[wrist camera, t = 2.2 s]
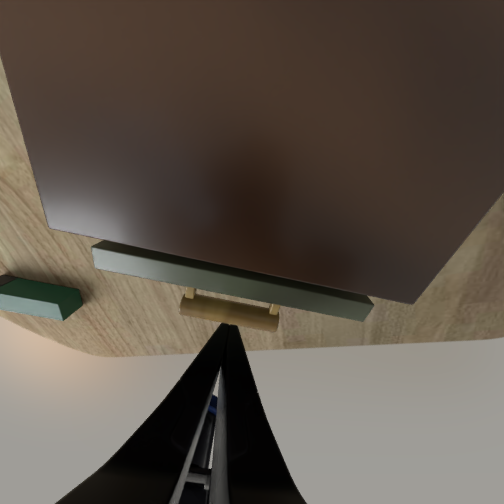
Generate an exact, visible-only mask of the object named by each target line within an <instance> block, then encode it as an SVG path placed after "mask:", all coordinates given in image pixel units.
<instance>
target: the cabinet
mask: <svg viewBox="0 0 504 504" xmlns="http://www.w3.org/2000/svg"><path fill="white" fill-rule="evenodd" d="M0 56H1V60H2V63H3V67H4V70H5V74H6V77H7V81H8V85H9V88H10V92H11V95H12V99H13V102H14V106H15V110H16V113H17V117H18V120H19V124H20V127H21V131H22V135H23V138H24V142H25V145H26V149H27V152H28V156H29V160H30V163H31V167H32V170H33V174H34V178H35V181H36V185H37V188H38V192H39V195H40V199H41V203H42V206H43V210H44V213H45V217H46V220H47V224H48V227H49V228H50V229H54V230H59V231H64V232H69V233H73V234H78V235H83V236H88V237H92V238H97V239H102V240H107V241H111V242H116V243H121V244H126V245H130V246H135V247H140V248H145V249H149V250H154V251H159V252H164V253H168V254H173V255H178V256H183V257H187V258H192V259H197V260H202V261H206V262H211V263H216V264H221V265H225V266H230V267H235V268H240V269H244V270H249V271H254V272H259V273H263V274H268V275H273V276H278V277H282V278H287V279H292V280H297V281H301V282H306V283H311V284H316V285H320V286H325V287H330V288H335V289H339V290H344V291H349V292H354V293H358V294H363V295H368V296H373V297H377V298H382V299H387V300H392V301H396V302H401V303H406V304H411V305H413V304H414V303H415V302H416V301H417V299H418V298H419V297H420V296H421V294H422V293H423V292H424V291H425V289H426V288H427V287H428V286H429V284H430V283H431V282H432V281H433V279H434V278H435V277H436V276H437V274H438V273H439V272H440V271H441V269H442V268H443V267H444V266H445V264H446V263H447V262H448V261H449V260H450V258H451V257H452V256H453V255H454V253H455V252H456V251H457V250H458V248H459V247H460V246H461V245H462V243H463V242H464V241H465V240H466V238H467V237H468V236H469V235H470V233H471V232H472V231H473V230H474V228H475V227H476V226H477V225H478V223H479V222H480V221H481V220H482V219H483V217H484V216H485V215H486V214H487V212H488V211H489V210H490V209H491V207H492V206H493V205H494V204H495V202H496V201H497V200H498V199H499V197H500V196H501V195H502V194H503V192H504V0H0Z"/></svg>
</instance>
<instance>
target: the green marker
mask: <svg viewBox="0 0 504 504" xmlns="http://www.w3.org/2000/svg"><path fill="white" fill-rule="evenodd" d="M82 305H83V304H82V300H81V296H80V292H79V289H74V288H68V287H63V286H58V285H53V284H47V283H42V282H37V281H32V280H26V279H21V278H18V277H12V276H7V275H1V276H0V310H5V311H11V312H16V313H22V314H27V315H33V316H39V317H44V318H50V319H56V320H61V321H64V320H65V319H66V318H68V317H69V316H70V315H71V314H73V313H74V312H75V311H76V310H78V309H79V308H80V307H81V306H82Z"/></svg>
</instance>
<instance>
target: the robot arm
mask: <svg viewBox="0 0 504 504" xmlns="http://www.w3.org/2000/svg"><path fill="white" fill-rule="evenodd" d="M220 367H221V369H220ZM219 371H220V379H219V390H218V401H217V413H216V414H214V413H212V412H210V411H208V407H209V404H210V400H211V397H212V394H213V391H214V387H215V384H216V381H217V377H218V375H219ZM214 431H215V437H214V450H213V461H212V468H211V469H208V467H209V461H210V455H211V449H212V443H213V436H214ZM204 485H205V489H204ZM55 504H307V503H306V502H305V500H304V499H303V497H302V496H301V494H300V492H299V491H298V489H297V487H296V485H295V483H294V481H293V479H292V477H291V475H290V473H289V470H288V468H287V466H286V463H285V461H284V459H283V456H282V454H281V452H280V449H279V447H278V444H277V442H276V440H275V437H274V435H273V433H272V430H271V428H270V425H269V423H268V420H267V418H266V415H265V412H264V409H263V406H262V404H261V400H260V397H259V393H257V387H256V385H255V381H254V378H253V375H252V371H251V368H250V365H249V361H248V358H247V355H246V352H245V348H244V345H243V342H242V339H241V335H240V332H239V329H238V326H237V325H233V324H230V325H229V324H227V323H221V324H220V326H219V327H218V328H217V330H216V331H215V332H214V334H213V335H212V336H211V338H210V339H209V340H208V342H207V343H206V344H205V346H204V347H203V348H202V350H201V351H200V352H199V354H198V355H197V357H196V358H195V359H194V361H193V362H192V363H191V365H190V366H189V367H188V369H187V370H186V371H185V373H184V374H183V375H182V377H181V378H180V380H179V381H178V382H177V383H176V385H175V386H174V387H173V389H172V390H171V391H170V392H169V394H168V395H167V396H166V398H165V399H164V400H163V401H162V402H161V403H160V405H159V406H158V407H157V408H156V409H155V410H154V412H153V413H152V414H151V415H150V416H149V417H148V418H147V419H146V421H144V423H143V424H142V425H141V426H140V427H139V428H138V429H137V430H136V431H135V432H134V434H133V435H132V436H131V437H130V438H129V439H128V440H127V441H126V443H125V444H123V446H122V447H121V448H120V449H119V450H118V451H117V452H116V453H115V454H114V455H113V456H112V457H111V458H110V459H109V460H108V461H107V462H106V463H105V464H104V465H103V466H102V467H100V468H99V469H98V470H97V471H96V472H95V473H94V474H92V475H91V476H90V477H88V478H87V479H86V480H84V481H83V482H82V483H81V484H79V485H78V486H77V487H76V488H74V489H73V490H72V491H70V492H69V493H68V494H67V495H65V496H64V497H63V498H62V499H60V500H59V501H58V502H56V503H55Z"/></svg>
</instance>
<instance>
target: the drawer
mask: <svg viewBox="0 0 504 504" xmlns="http://www.w3.org/2000/svg"><path fill="white" fill-rule="evenodd" d="M91 250H92V255H93V261H94V266H95V268H96V269H101V270H106V271H111V272H116V273H121V274H126V275H131V276H136V277H141V278H146V279H151V280H156V281H161V282H166V283H171V284H176V285H181V286H186V293H185V294H184V295H183V297H182V300H181V303H180V307H179V314H180V315H185V316H190V317H195V318H201V319H206V320H211V321H217V322H222V323H227V324H233V325H238V326H243V327H249V328H254V329H259V330H265V331H270V332H276V330H277V328H278V324H279V312H278V311H279V308H280V306H287V307H292V308H297V309H302V310H307V311H312V312H317V313H322V314H327V315H332V316H337V317H342V318H347V319H352V320H357V321H362V322H363V321H364V320H365V319H366V317H367V316H368V314H369V313H370V311H371V310H372V308H373V307H374V304H373V303H372V301H371V300H370V299H369V298H368V297H367V295H363V294H358V293H354V292H349V291H344V290H339V289H335V288H330V287H325V286H320V285H316V284H311V283H306V282H301V281H297V280H292V279H287V278H282V277H278V276H273V275H268V274H263V273H259V272H254V271H249V270H244V269H240V268H235V267H230V266H225V265H221V264H216V263H211V262H206V261H202V260H197V259H192V258H187V257H183V256H178V255H173V254H168V253H164V252H159V251H154V250H149V249H145V248H140V247H135V246H130V245H126V244H121V243H116V242H111V241H107V240H103V241H101V242H99V243H97V244H95V245H93V246H92V247H91ZM196 289H201V290H206V291H211V292H216V293H221V294H226V295H231V296H236V297H241V298H246V299H251V300H256V301H261V302H266V303H271V304H270V306H269V308H265V307H260V306H255V305H250V304H245V303H240V302H235V301H229V300H224V299H219V298H214V297H209V296H204V295H199V294H196Z"/></svg>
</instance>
